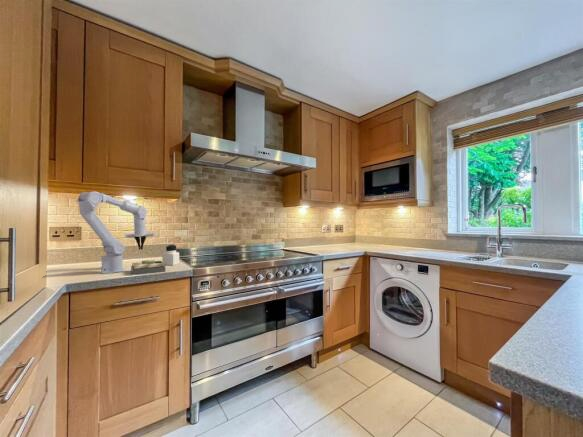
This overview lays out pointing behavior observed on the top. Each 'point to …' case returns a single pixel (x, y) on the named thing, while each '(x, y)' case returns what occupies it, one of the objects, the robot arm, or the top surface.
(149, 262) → the leveling plate
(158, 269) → the instrument base
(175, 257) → the medicine bottle
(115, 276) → the top surface
